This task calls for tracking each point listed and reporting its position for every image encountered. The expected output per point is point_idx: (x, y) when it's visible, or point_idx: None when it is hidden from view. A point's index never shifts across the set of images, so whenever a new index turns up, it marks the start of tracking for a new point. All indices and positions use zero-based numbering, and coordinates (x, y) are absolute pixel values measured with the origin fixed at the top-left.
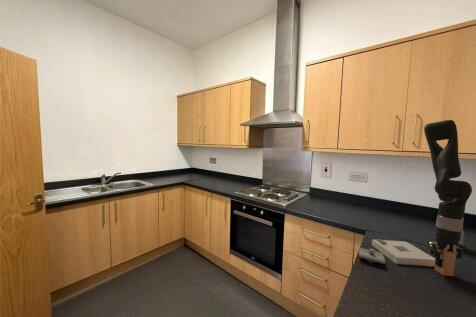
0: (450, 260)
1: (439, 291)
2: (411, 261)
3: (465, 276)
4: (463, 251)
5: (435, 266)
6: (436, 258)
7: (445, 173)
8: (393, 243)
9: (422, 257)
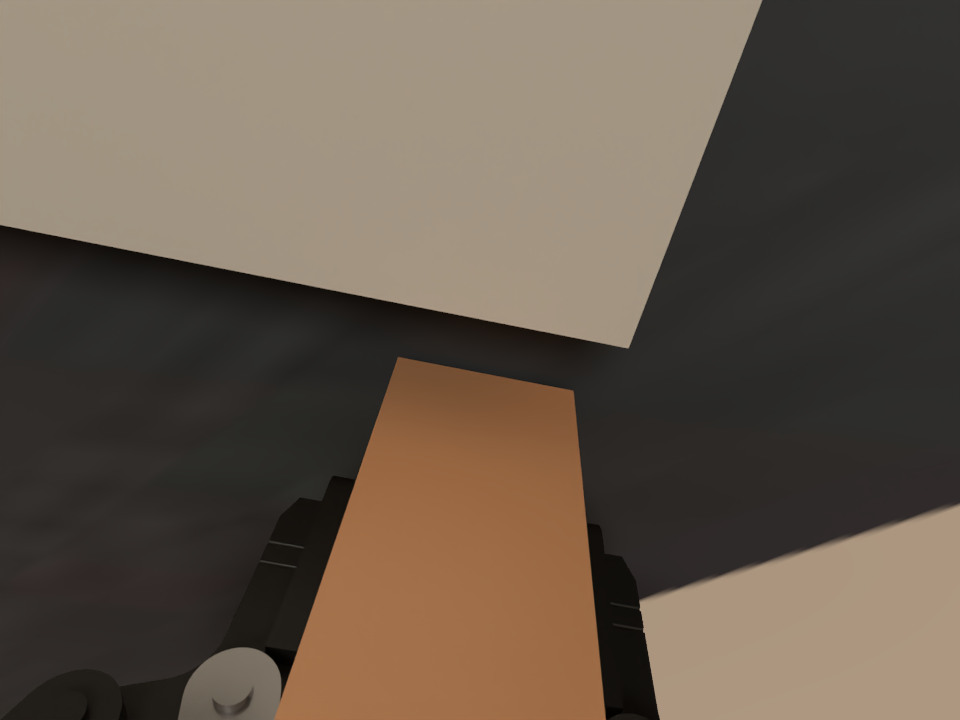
0: None
1: (39, 631)
2: None
3: (745, 526)
4: None
5: (380, 413)
6: (232, 639)
7: None
8: None
9: (286, 184)
